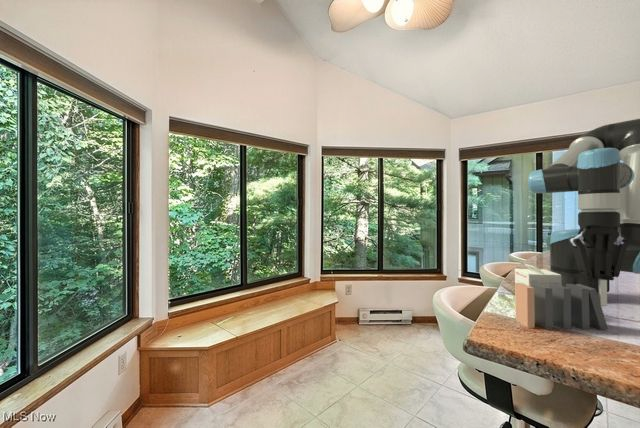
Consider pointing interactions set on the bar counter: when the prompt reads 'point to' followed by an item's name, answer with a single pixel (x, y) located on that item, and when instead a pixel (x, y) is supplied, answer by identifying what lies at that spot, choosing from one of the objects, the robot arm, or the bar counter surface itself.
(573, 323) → the domino
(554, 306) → the domino
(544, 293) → the domino
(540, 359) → the bar counter surface
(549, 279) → the ink box
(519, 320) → the domino
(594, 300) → the domino
